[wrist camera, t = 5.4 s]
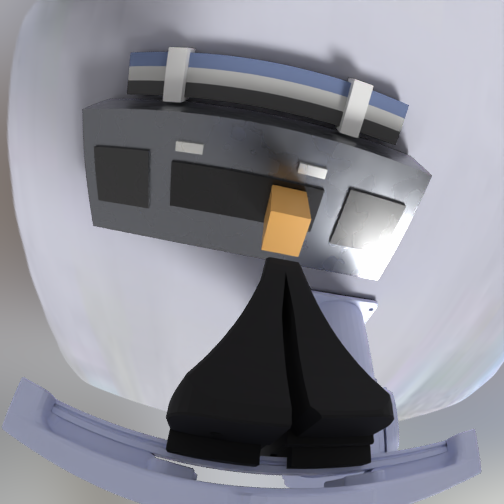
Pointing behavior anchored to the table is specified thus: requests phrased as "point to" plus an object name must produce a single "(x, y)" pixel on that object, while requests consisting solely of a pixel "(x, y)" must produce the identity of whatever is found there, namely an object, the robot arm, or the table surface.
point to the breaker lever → (286, 221)
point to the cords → (267, 89)
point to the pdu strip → (246, 181)
